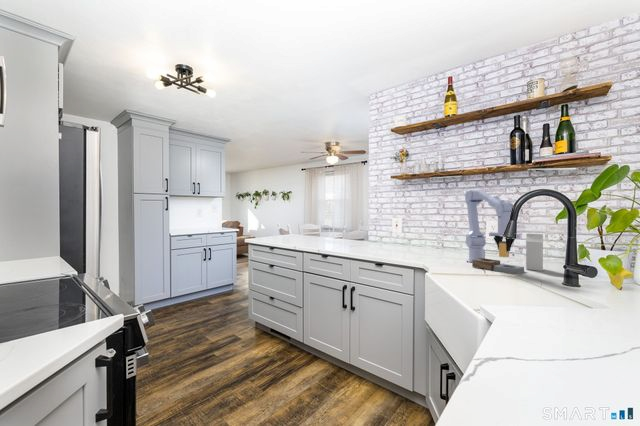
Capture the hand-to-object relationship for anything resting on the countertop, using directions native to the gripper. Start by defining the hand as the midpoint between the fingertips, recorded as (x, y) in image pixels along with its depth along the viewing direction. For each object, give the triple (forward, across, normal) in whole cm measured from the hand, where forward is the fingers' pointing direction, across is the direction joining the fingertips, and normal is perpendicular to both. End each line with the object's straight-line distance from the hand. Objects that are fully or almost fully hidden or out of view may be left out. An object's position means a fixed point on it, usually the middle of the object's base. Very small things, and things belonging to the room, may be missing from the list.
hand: (504, 250), depth 153 cm
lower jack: (+10, +2, 0) cm, 11 cm away
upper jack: (+10, -9, 0) cm, 14 cm away
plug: (+3, 0, 0) cm, 3 cm away
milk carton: (+10, +8, +16) cm, 21 cm away
